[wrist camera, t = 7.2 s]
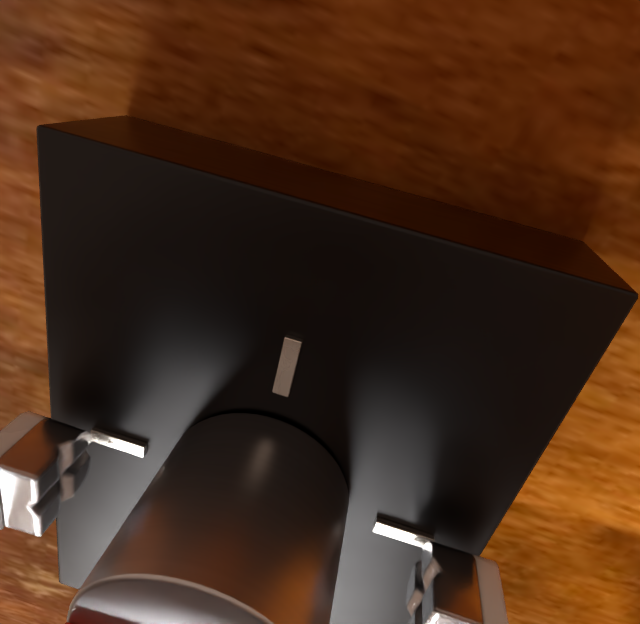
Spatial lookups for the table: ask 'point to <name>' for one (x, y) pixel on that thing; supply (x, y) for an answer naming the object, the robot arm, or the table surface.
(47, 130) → the panel
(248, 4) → the table surface
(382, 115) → the table surface
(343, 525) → the dial
